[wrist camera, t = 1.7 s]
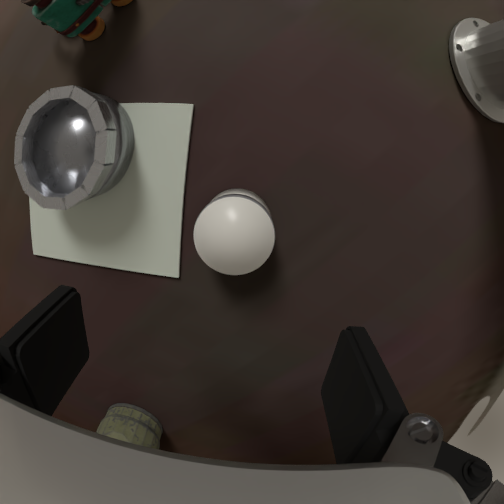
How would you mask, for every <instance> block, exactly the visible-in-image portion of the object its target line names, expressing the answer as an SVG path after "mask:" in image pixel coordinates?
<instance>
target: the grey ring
mask: <svg viewBox="0 0 504 504" xmlns="http://www.w3.org/2000/svg"><path fill="white" fill-rule="evenodd" d="M16 134H17V135H18V136H16V138H15V158H14V164H16V165H15V169H16V172H17V174H18V177H19V180H20V183H21V185H22V188H23V191H24V190H25V193H26V194H27V195H28V196H29V197H30V198H32V199H33V200H34V201H35V202H36V203H37V204H38V205H39V206H41V207H43V208H47V209H58V210H67V209H70V208H72V207H75V206H77V205H78V204H80V203H82V202H83V201H86V200H88V199H91V198H94V197H96V196H99V195H102V194H104V193H106V192H108V191H109V190H111V189H112V188H114V187H115V186H116V185H117V184H118V183H119V182H120V180H121V179H122V178H123V176H124V175H125V173H126V172H127V170H128V168H129V165H130V163H131V160H132V156H133V152H134V142H135V138H134V130H133V125H132V122H131V119H130V117H129V115H128V113H127V112H126V110H125V109H124V108H123V106H122V105H121V104H120V103H118V102H117V101H116V100H114V99H112V98H110V97H107V96H104V95H101V94H97V93H93V92H90V91H88V90H87V89H85V88H82V87H78V86H74V85H72V86H65V87H58V88H52V89H50V90H47V91H46V92H45V93H44V94H43V95H42V96H40V97H39V98H38V99H37V100H36V101H35V102H34V103H32V104H31V105H30V106H29V108H28V109H27V111H26V113H25V115H24V117H23V119H22V122H21V124H20V126H19V128H18V131H17V133H16Z"/></svg>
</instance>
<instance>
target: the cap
mask: <svg viewBox="0 0 504 504" xmlns="http://www.w3.org/2000/svg"><path fill="white" fill-rule="evenodd" d="M194 243H195V247H196V250H197V252H198V254H199V256H200V257H201V259H202V260H203V261H204V262H205V263H206V264H207V265H208V266H209V267H211V268H212V269H214V270H216V271H218V272H220V273H223V274H228V275H242V274H246V273H250V272H252V271H254V270H256V269H257V268H259V267H260V266H261V265H263V263H264V262H265V261H266V260H267V259H268V257H269V256H270V254H271V252H272V250H273V247H274V243H275V229H274V225H273V221H272V218H271V214H270V211H269V208H268V206H267V204H266V203H265V201H264V200H263V199H262V198H261V197H260V196H258V195H257V194H255V193H254V192H252V191H249V190H246V189H239V188H236V189H229V190H226V191H223V192H221V193H220V194H218V195H217V196H216V197H214V198H213V199H212V201H211V202H210V203H209V204H208V205H207V206H206V207H205V208H204V209H203V210H202V212H201V213H200V214H199V216H198V218H197V220H196V223H195V226H194Z"/></svg>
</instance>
